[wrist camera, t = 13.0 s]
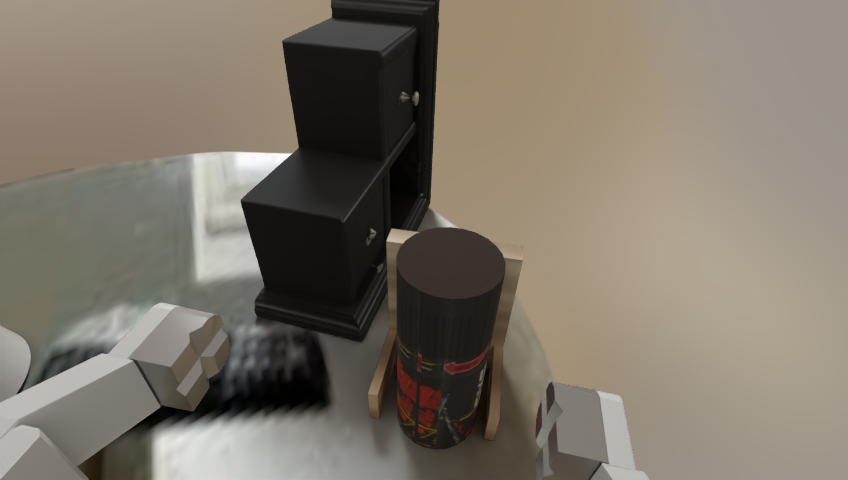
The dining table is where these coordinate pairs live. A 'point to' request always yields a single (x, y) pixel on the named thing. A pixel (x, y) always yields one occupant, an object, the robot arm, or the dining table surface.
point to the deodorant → (444, 331)
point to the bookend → (347, 164)
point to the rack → (495, 356)
